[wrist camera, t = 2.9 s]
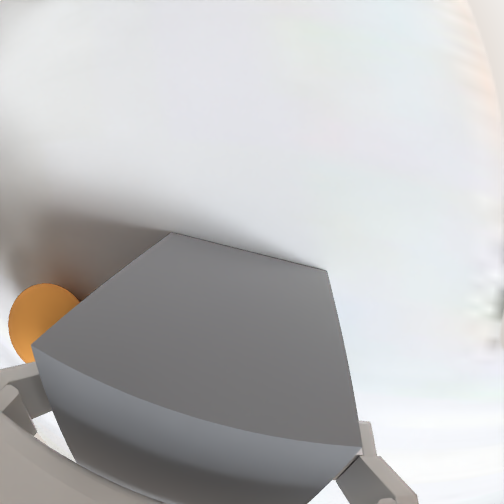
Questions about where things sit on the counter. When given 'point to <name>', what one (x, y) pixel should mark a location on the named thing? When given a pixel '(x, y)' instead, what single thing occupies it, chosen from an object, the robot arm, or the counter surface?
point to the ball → (37, 315)
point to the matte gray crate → (205, 377)
